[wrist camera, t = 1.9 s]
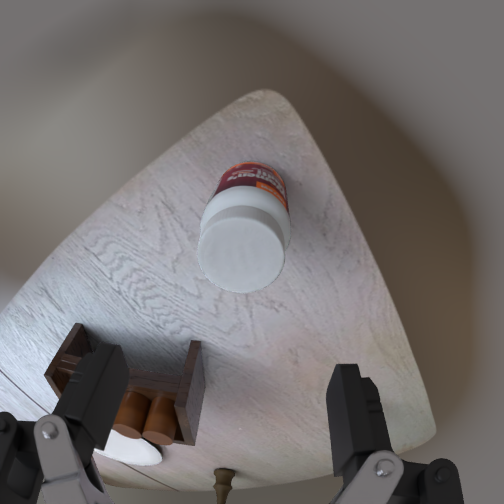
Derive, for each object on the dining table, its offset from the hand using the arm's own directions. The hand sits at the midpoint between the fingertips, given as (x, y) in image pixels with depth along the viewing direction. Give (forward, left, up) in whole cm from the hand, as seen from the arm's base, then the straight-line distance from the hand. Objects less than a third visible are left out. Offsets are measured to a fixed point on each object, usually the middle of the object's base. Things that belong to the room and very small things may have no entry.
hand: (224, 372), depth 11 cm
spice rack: (+24, -15, -20) cm, 34 cm away
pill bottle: (0, 0, -20) cm, 20 cm away
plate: (+57, -30, -20) cm, 67 cm away
